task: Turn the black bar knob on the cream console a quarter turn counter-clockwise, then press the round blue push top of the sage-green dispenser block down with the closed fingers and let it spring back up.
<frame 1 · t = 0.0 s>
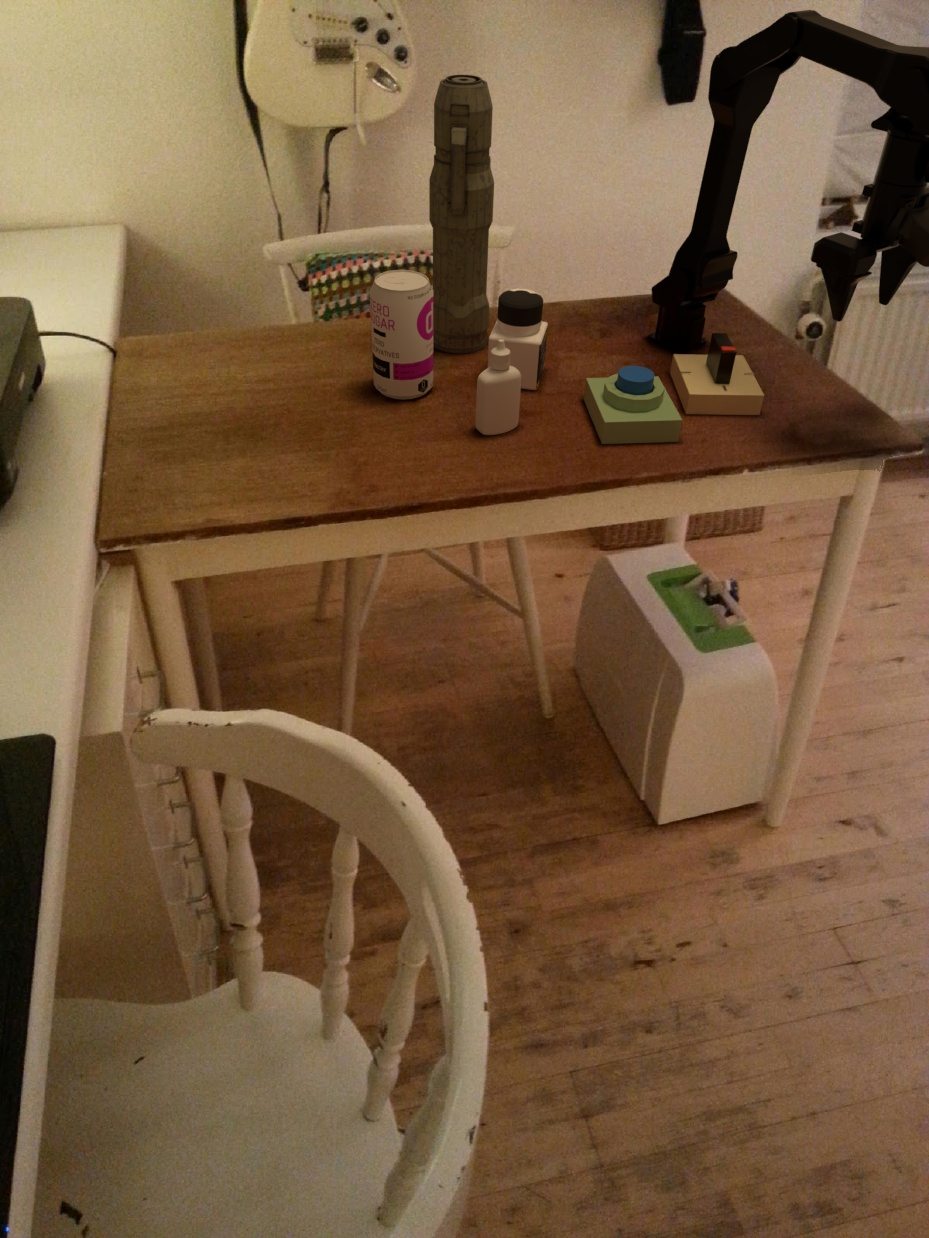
hand: (860, 312, 118), 15 cm above the table, tool pointing down, fingers open, 9 cm apart
console: (713, 393, 132), on the table
medicine bottle: (515, 378, 135), on the table
eye dropper bottle: (496, 429, 124), on the table
dispenser: (629, 420, 126), on the table
supplement can: (403, 388, 132), on the table
dial: (720, 357, 129), point 5 cm above the table, hinge at 0.0°
thermos: (458, 342, 143), on the table
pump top: (635, 381, 122), point 6 cm above the table, slide at 0.1 cm
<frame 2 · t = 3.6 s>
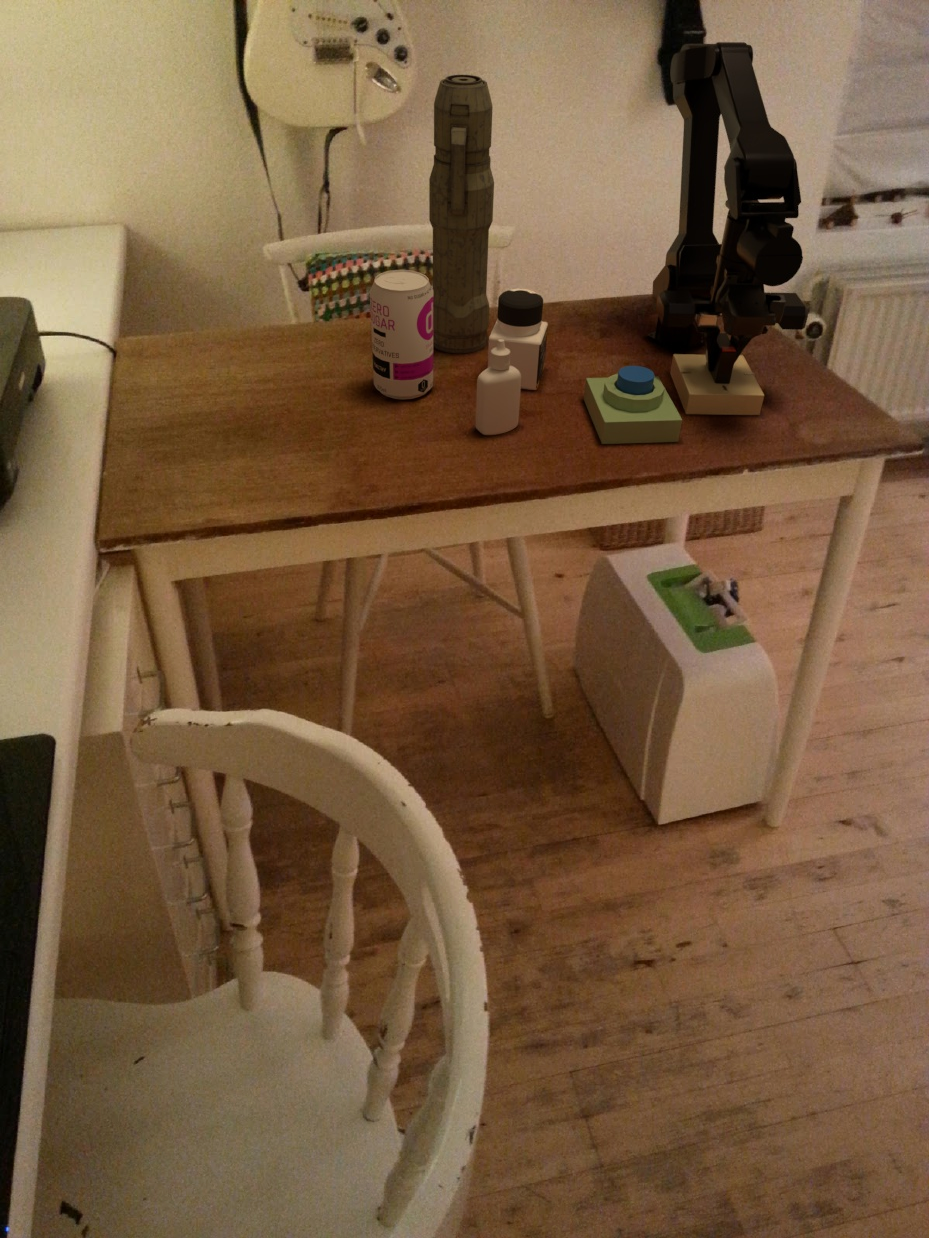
hand: (718, 370, 130), 4 cm above the table, tool pointing down, fingers closed on dial, 2 cm apart
dial: (720, 357, 129), point 5 cm above the table, hinge at 0.0°, touching gripper
everything else where it was.
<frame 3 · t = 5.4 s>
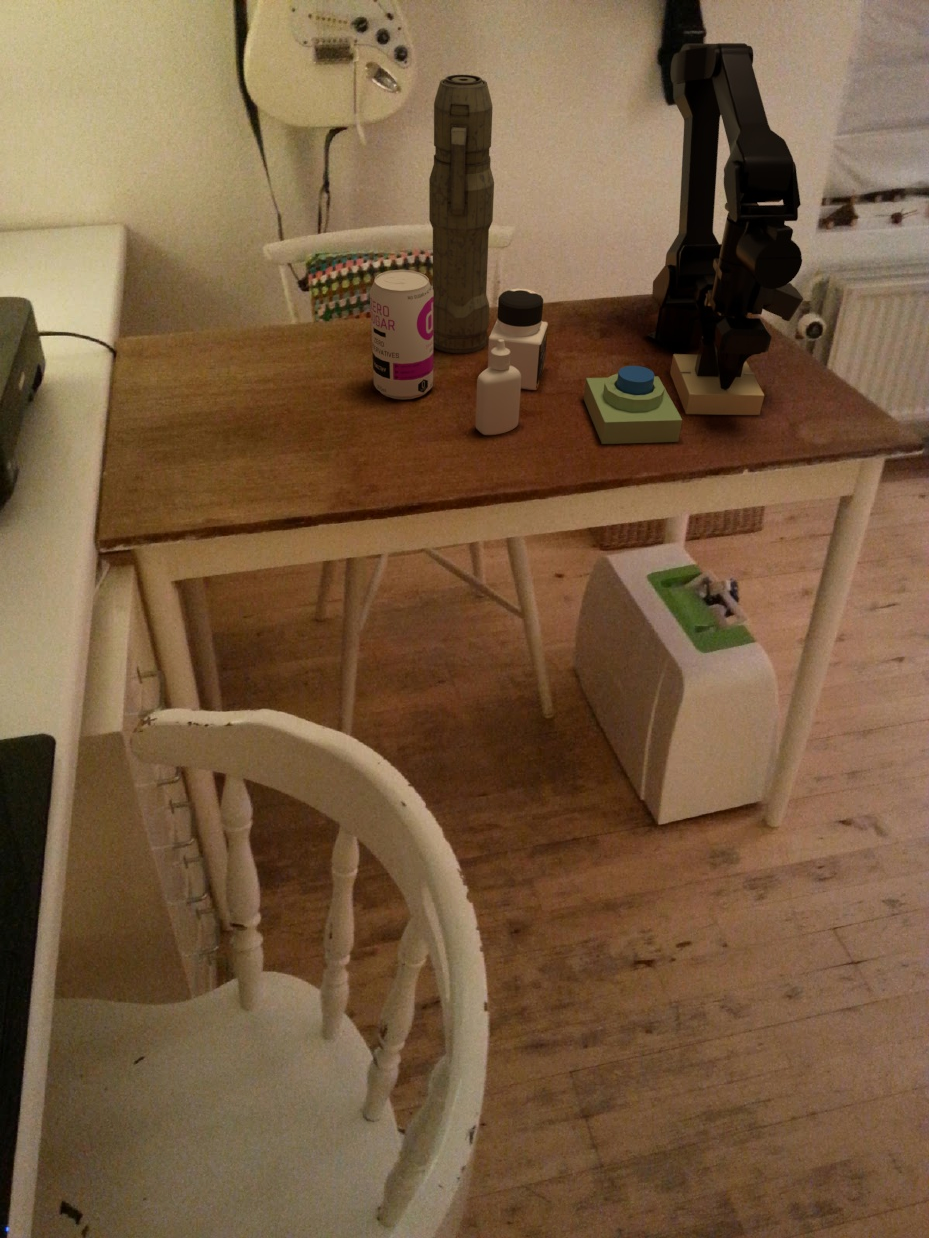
hand: (717, 372, 130), 3 cm above the table, tool pointing down, fingers open, 9 cm apart
dial: (720, 357, 129), point 5 cm above the table, hinge at 89.5°
everything else where it was.
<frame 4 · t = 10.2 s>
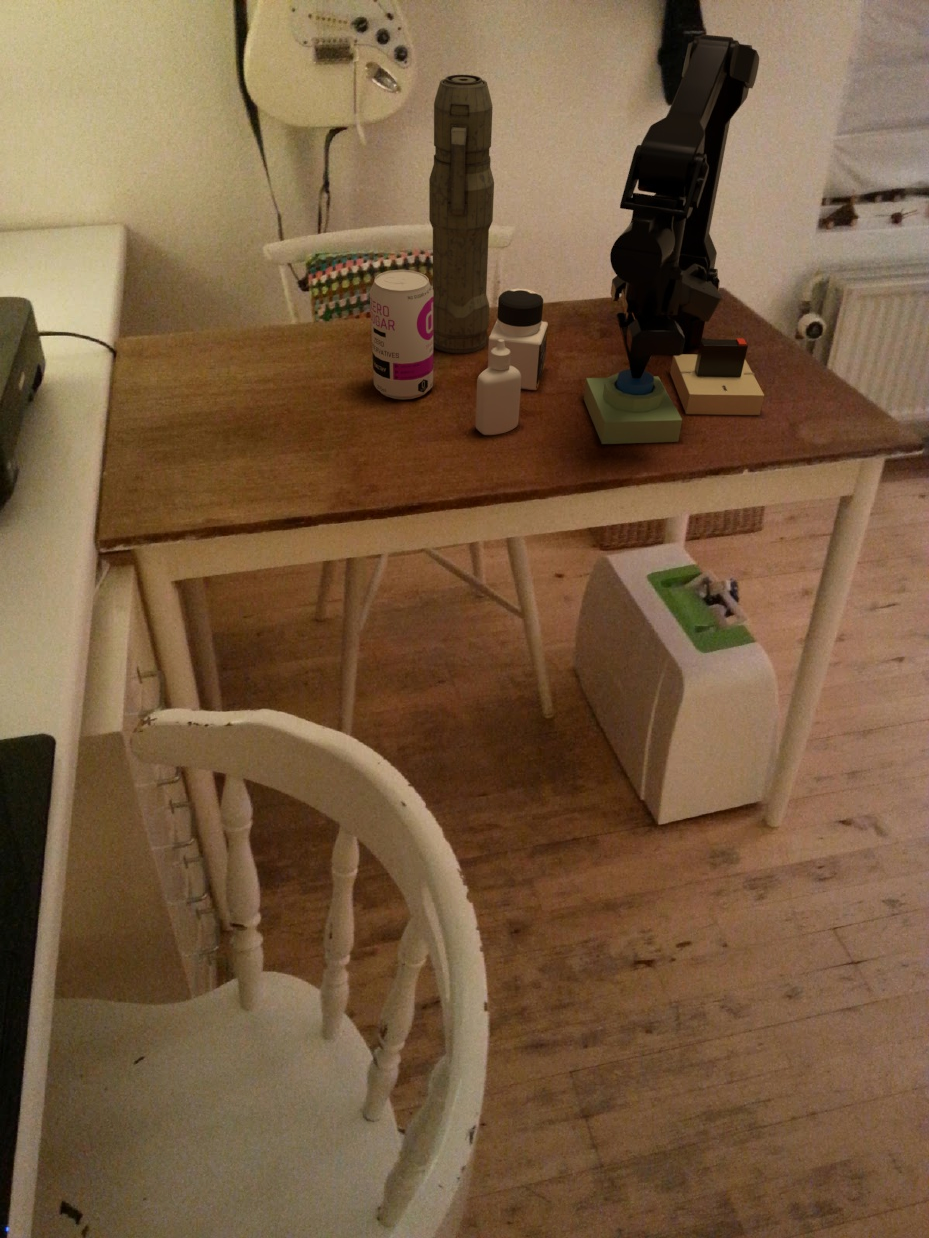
hand: (636, 377, 122), 6 cm above the table, tool pointing down, fingers closed, pressing on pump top
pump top: (634, 384, 123), point 5 cm above the table, slide at -0.4 cm, touching gripper
everything else where it was.
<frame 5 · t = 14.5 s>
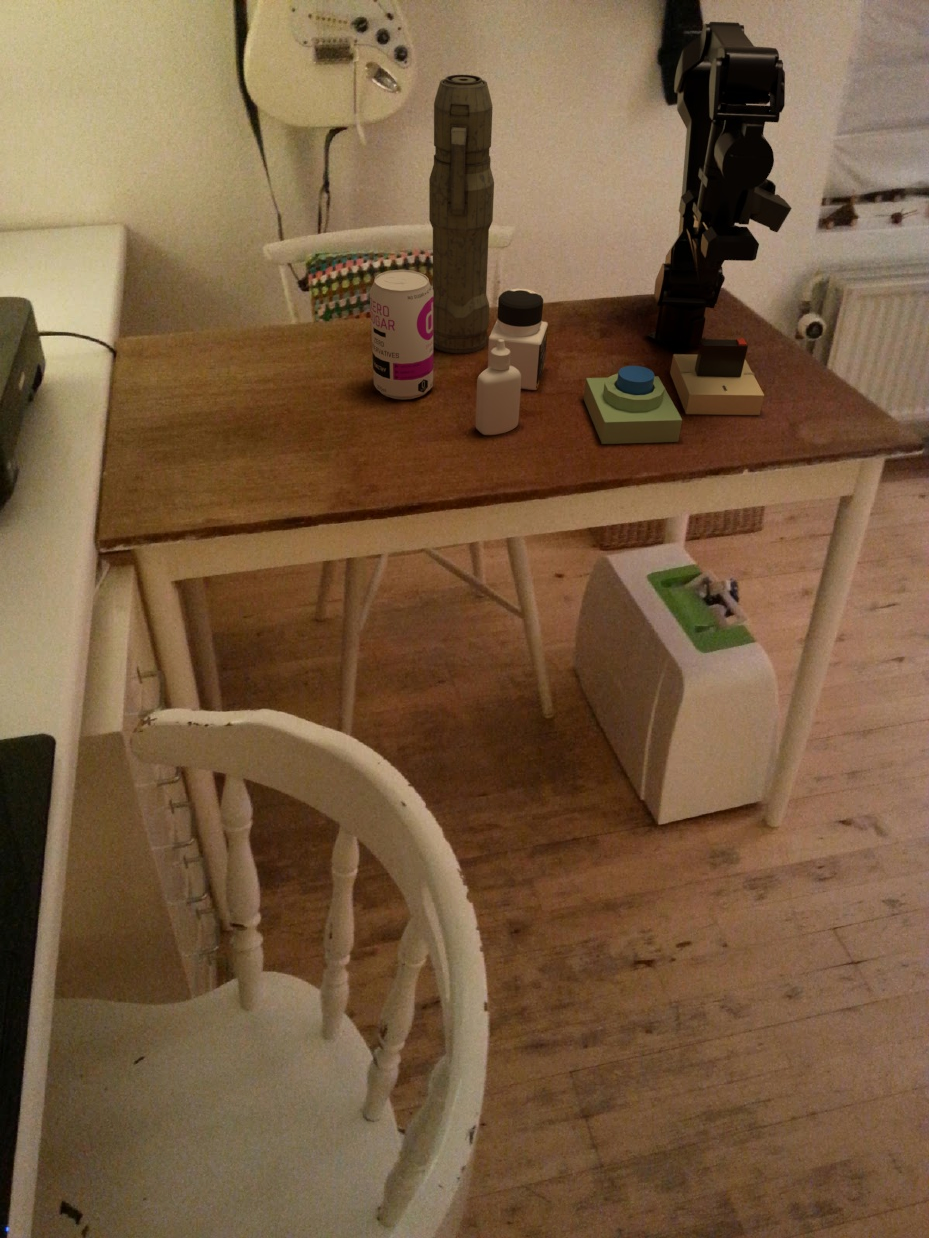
hand: (704, 290, 127), 13 cm above the table, tool pointing down, fingers closed
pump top: (635, 381, 122), point 6 cm above the table, slide at 0.1 cm
everything else where it was.
at the end: dial at +90° (first picture: +0°); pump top pushed in 1.1 cm at the most during the clip, back to where it started at the end; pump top slide at 0.1 cm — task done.
